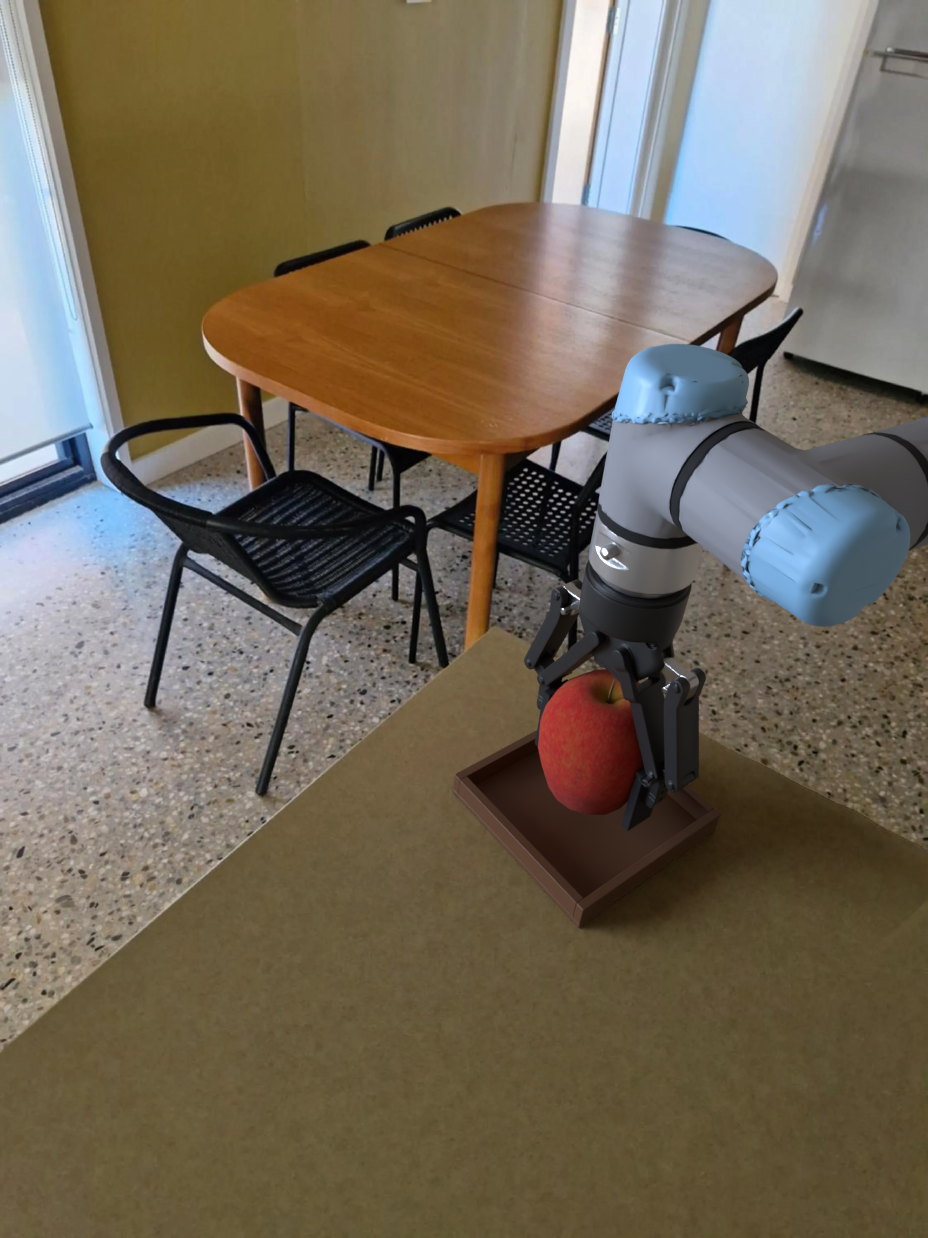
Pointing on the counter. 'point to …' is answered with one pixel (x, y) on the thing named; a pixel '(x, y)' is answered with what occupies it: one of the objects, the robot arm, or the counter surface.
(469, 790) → the tray
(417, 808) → the counter surface
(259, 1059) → the counter surface
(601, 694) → the apple
